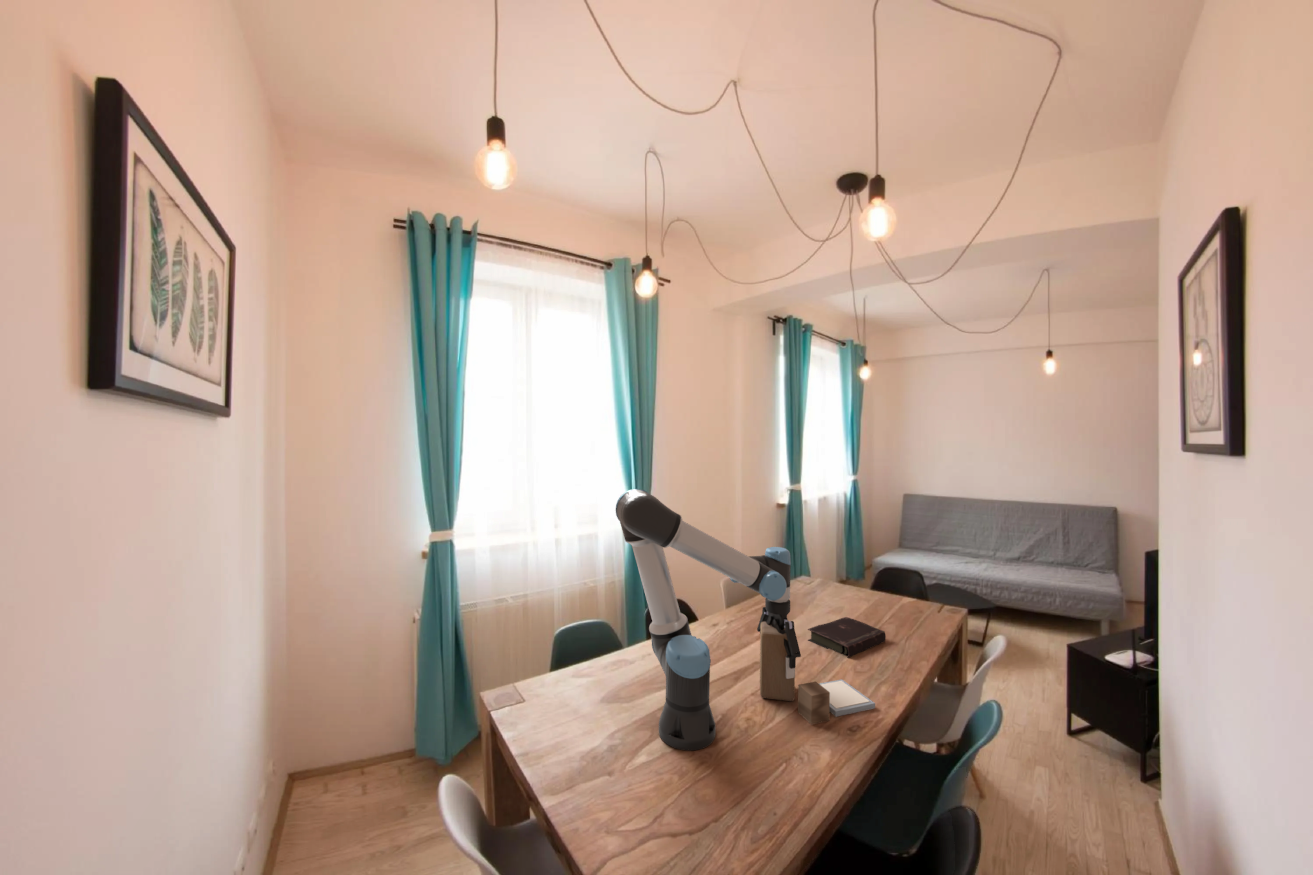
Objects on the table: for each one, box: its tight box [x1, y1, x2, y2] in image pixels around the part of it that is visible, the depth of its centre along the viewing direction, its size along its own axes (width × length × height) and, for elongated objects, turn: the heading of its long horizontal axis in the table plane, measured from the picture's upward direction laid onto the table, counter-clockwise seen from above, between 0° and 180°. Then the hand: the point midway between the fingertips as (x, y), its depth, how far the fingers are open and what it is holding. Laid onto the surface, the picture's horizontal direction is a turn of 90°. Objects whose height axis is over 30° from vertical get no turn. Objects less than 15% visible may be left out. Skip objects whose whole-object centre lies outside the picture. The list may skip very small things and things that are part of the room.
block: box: [759, 622, 796, 702], centre depth 143 cm, size 10×10×20 cm
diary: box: [807, 616, 887, 659], centre depth 181 cm, size 19×25×5 cm
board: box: [818, 678, 876, 718], centre depth 140 cm, size 14×14×2 cm
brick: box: [797, 681, 830, 726], centre depth 131 cm, size 6×6×8 cm
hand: (777, 666), depth 143 cm, fingers open, 13 cm apart
